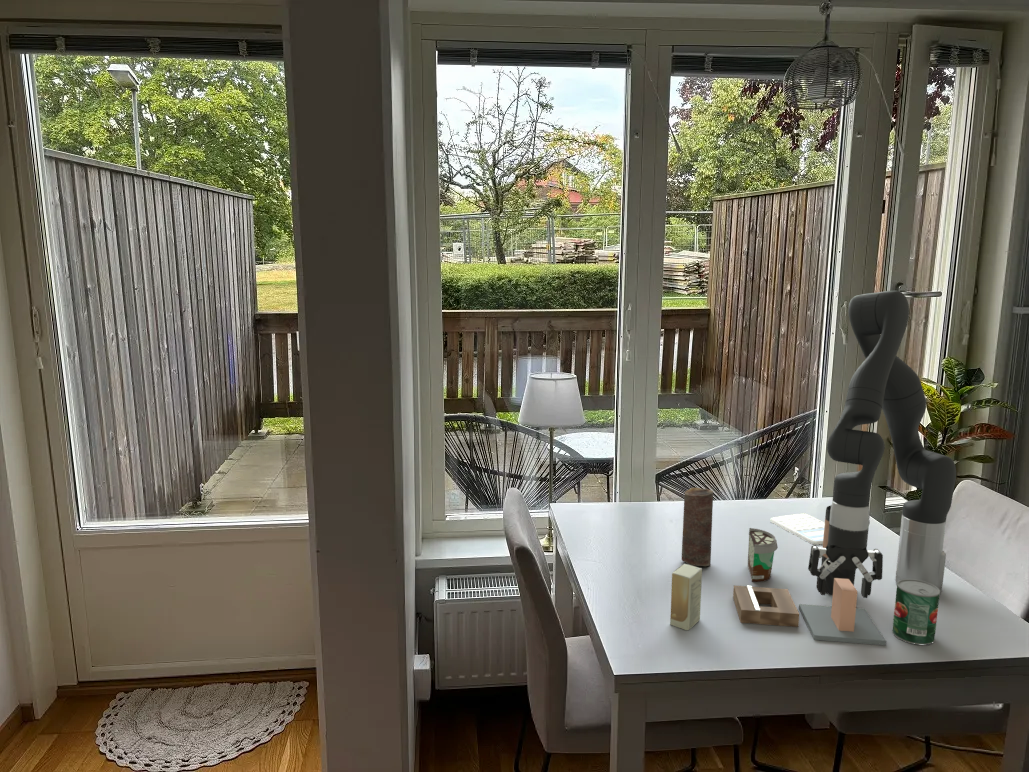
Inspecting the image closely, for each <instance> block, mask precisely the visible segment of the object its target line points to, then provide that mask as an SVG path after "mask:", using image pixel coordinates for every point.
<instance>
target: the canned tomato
mask: <svg viewBox="0 0 1029 772" xmlns="http://www.w3.org/2000/svg"><path fill="white" fill-rule="evenodd" d="M940 595H941V591H940V590H939V589H938V588H937V587H936V586H934V585H933V584H930V583H928V582H924V581H920V580H915V579H903V580H900V581H898V582H897V583H896V591H895V601H894V603H895V604H894V611H893V619H892V620H893V621H892V629H891V633H892V635H893V634H894V635H893V636H896V637H895V638H897V639H898V638H899V639H898V640H900V639H901V640H900V641H902V640H903V641H902V642H904V641H906V642H905V643H907V642H909V643H908V644H910V643H915V644H930V643H932V642H934V643H935V640H936V639H935V637H936V629H937V620H938V613H939V612H938V611H939V603H940ZM932 644H933V643H932ZM930 645H931V644H930Z"/></svg>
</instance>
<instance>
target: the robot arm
mask: <svg viewBox="0 0 1029 772" xmlns="http://www.w3.org/2000/svg"><path fill="white" fill-rule="evenodd" d="M847 309H848V311H847V313H848V318H849V323H850V326H851V328H852V331H853V334H854V336H855V338H856V341H857V342H858V344H859V347H860V349H861V351H862V354H863V356H864V359H865V360H863V362H862V363H861V364H860V365H859V366H858V368H857V369H856V370H855V372H854V373H853V374H852V376H851V379H850V381H849V384H848V388H847V394H846V397H845V403H844V407H843V411H842V413H841V415H840V417H839V419H838V421H837V423H836V424H835V426H834V428H833V430H832V432H831V433H830V436H829V437H828V440H827V443H826V444H827V445H826V450H827V454H828V456H829V457H830V458H831V459H832V461H835V462H839V463H846V464H853V465H858V466H862V468H861V469H860V470H858V471H853V472H852V471H851V472H850V471H848V472H840V473H838V474H836V475H835V477H834V480H833V490H832V491H833V492H832V502H831V505H832V506H831V505H830V506H831V511H830V522H829V534H828V544H827V546H826V548H823V547H818V545H814V544H812V545H811V546H810V547H811V548H810V553H809V554H810V555H809V562H808V567H807V570H808V571H809V573H810V575H811V576H812V577H813V576H814V577H816V587H815V588H816V589H817V591H818V593H819V594H820V596H825V595H826V593H825V589H826V579H825V577H826V576H827V575H828V574H829V573H832V572H833V571H834V570H835V569H836V568H838V569H839V570H844V569H848V570H853V571H854V570H855V569H856V570H857V569H858V570H859V572H860V573H861V574H862V576H863V577H862V578H861V585H860V586H861V588H860V595H861V597H862V598H864V599H868V597H870V596H871V593H872V584H873V581H876V580H878V581H881V580H882V579H883V564H884V563H883V562H884V558H883V556H884V555H883V553H882V552H881V551H880V550H879V549H878V548H873V550H868V549H867V548H868V540H869V539H868V538H869V526H870V522H871V521H870V518H871V517H870V516H871V515H870V514H871V513H870V503H871V502H870V500H871V489H872V484H873V480H874V477H875V474H876V471H877V469H878V466H879V464H880V462H881V460H882V458H883V455H884V453H885V449H886V448H885V446H886V445H885V440H884V439H883V437H882V435H880V434H879V433H878V432H874V431H867V430H865V431H864V430H859V429H854V428H855V427H857V426H862V425H869V424H870V425H871V424H875V423H876V422H878V421H879V420H880V418H881V415H882V412H883V414H884V418H885V421H886V424H887V427H888V431H889V436H890V438H891V443H892V448H893V454H894V458H895V463H896V467H897V472H898V474H899V477H900V478H901V480H902V481H903V482H904V483H905V484H907V485H909V486H911V487H914V488H916V489H920V490H922V491H921V496H920V499H913V500H908V501H905V502H904V503H903V505H902V512H901V520H900V530H899V531H900V532H899V541H898V550H897V562H896V571H895V579H894V580H895V583H896V584H897V582H898V581H900V580H903V579H915V580H920V581H924V582H928V583H930V584H933V585H934V586H936V587H937V588H938V589H939V590H940V592H943V586H944V578H945V577H944V576H945V568H946V558H947V553H946V552H945V551H944V543H945V534H946V533H945V532H946V524H947V517H948V513H949V512H950V510H951V507H952V502H953V497H954V492H955V491H954V490H955V486H956V480H957V468H956V464H955V462H954V460H953V459H952V457H950V456H948V455H944V454H942V453H938V452H934V451H932V450H931V451H930V450H927V449H926V447H924V445H923V443H922V440H921V438H920V433H919V426H920V424H921V422H922V419H923V418H924V416H925V413H926V409H927V399H926V396H925V395H926V394H925V392H924V388H923V385H922V382H921V380H920V377H919V376H918V374H917V373H916V372H915V370H913V369H912V367H910V366H909V365H908V364H907V363H906V362H905V361H904V360H903V359H901V358H900V357H899V356H898V355H897V354H898V353H899V350H900V347H901V344H902V341H903V338H904V336H905V333H906V331H907V330H906V329H907V326H908V322H909V318H910V317H909V316H910V305H909V301H908V298H907V296H906V295H905V294H904V293H903V292H902V291H901V290H884V291H878V292H877V291H876V292H869V293H862V294H859V295H855V296H853V297H852V298H851V299H850V301H849V303H848V308H847ZM823 554H826V555H827V556H828V558H827V559H826V560H825V561H824V562H823V565H822V566H820V567H819V561H820V559H822V555H823ZM868 558H869V559H870V560H871V561H872V570H871V571H870V572H869V571H868V570H867V568H866V567H865V566H864V565H863V563H864V562H865V561H866V560H867V559H868Z"/></svg>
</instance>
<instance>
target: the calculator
mask: <svg viewBox="0 0 1029 772" xmlns="http://www.w3.org/2000/svg"><path fill="white" fill-rule="evenodd" d="M769 521H770V523H772V524H773V525H776V526H778V527H779V528H780V529H783V530H785V531H786V532H788V531H789V532H788V533H790V532H791V533H790V534H792V533H793V534H792V535H794V536H796V537H798V538H800V539H801V540H803V539H804V540H803V541H805V540H806V541H805V542H807V541H808V543H809V544H811V545H816V546H819V544H820V545H823V537H824V526H825V521H822V520H821V519H818V518H816V517H814V516H811V515H810V514H807V513H806V512H805V513H803V512H802V513H794V514H786V515H780V516H774V517H773V516H771V518H770V519H769Z"/></svg>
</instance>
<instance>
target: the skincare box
mask: <svg viewBox="0 0 1029 772" xmlns="http://www.w3.org/2000/svg"><path fill="white" fill-rule="evenodd" d="M702 581H703V568H702V567H699V566H696V565H690V564H688V563H683V564H682V565H680V566H679V567H678V568H676V569H675V570H673V571H672V573H671V592H670V593H671V594H670V595H671V597H670V598H671V599H670V622H669V623H670V624H669V625H670V626H673V627H676V628H679V629H682V630H685V631H689V630H691V629H692V628H693V627H694V626H695V625H696V624H697V623H698V622H700V621H701V602H702Z"/></svg>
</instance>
